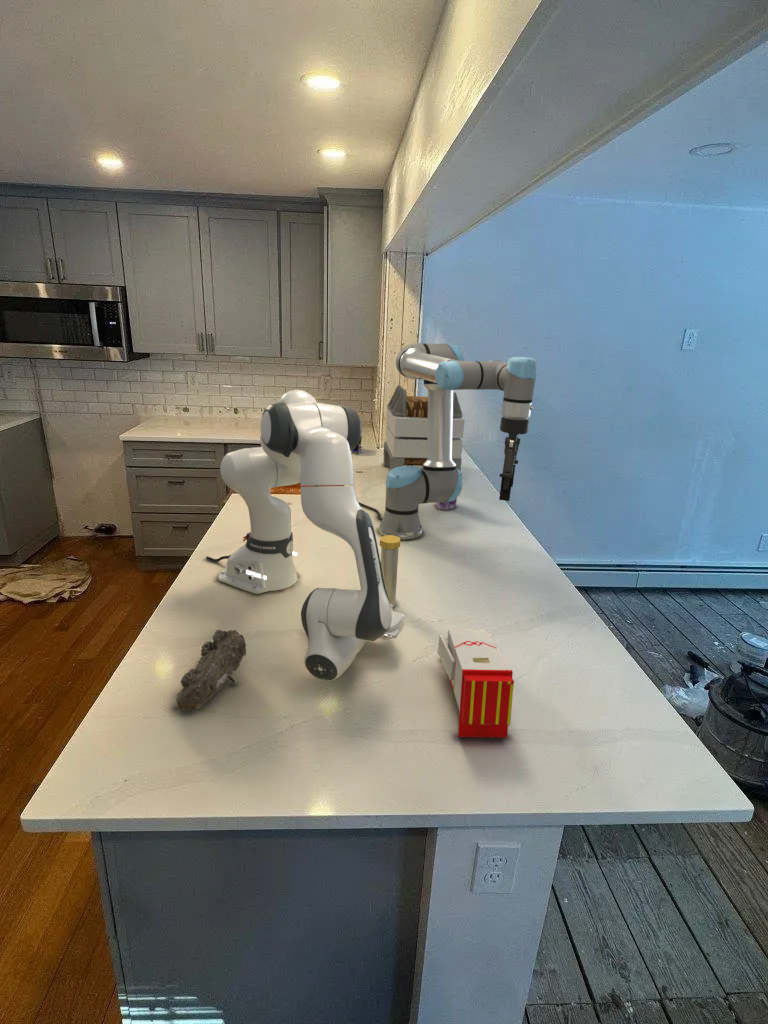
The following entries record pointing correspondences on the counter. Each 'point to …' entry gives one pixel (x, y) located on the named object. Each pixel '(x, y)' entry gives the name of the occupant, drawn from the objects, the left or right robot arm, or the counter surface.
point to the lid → (390, 542)
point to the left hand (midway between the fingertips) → (372, 602)
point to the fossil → (212, 669)
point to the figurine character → (358, 446)
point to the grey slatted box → (415, 431)
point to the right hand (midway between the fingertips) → (506, 492)
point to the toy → (478, 682)
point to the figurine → (446, 504)
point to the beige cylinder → (390, 572)
